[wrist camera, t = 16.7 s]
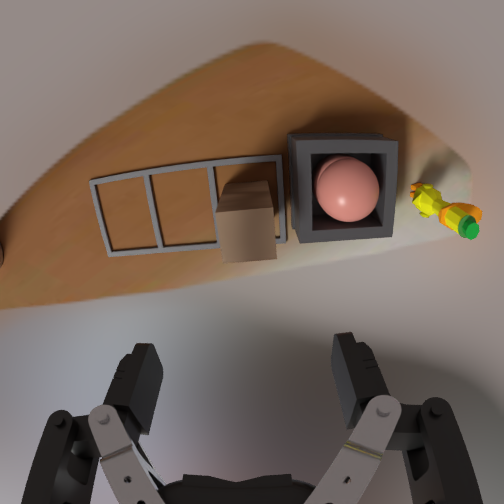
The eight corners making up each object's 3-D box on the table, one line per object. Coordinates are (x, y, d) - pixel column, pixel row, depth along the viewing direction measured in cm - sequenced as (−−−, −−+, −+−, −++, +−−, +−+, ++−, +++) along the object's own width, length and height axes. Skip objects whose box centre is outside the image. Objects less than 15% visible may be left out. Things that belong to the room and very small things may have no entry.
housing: (291, 225, 33) (297, 245, 28) (286, 134, 28) (293, 138, 24) (376, 220, 32) (393, 238, 28) (379, 133, 28) (399, 139, 23)
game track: (109, 255, 34) (108, 256, 34) (90, 180, 30) (88, 180, 30) (285, 241, 34) (286, 243, 33) (281, 154, 29) (281, 154, 29)
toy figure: (441, 176, 30) (506, 211, 19) (438, 204, 31) (498, 247, 20) (395, 176, 30) (456, 213, 19) (393, 206, 31) (449, 253, 21)
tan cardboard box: (230, 223, 33) (222, 263, 25) (225, 184, 31) (215, 212, 23) (270, 219, 32) (276, 259, 24) (267, 180, 30) (273, 207, 22)
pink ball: (311, 211, 31) (323, 234, 25) (309, 153, 28) (323, 165, 23) (365, 208, 30) (386, 230, 25) (366, 153, 28) (391, 164, 22)
